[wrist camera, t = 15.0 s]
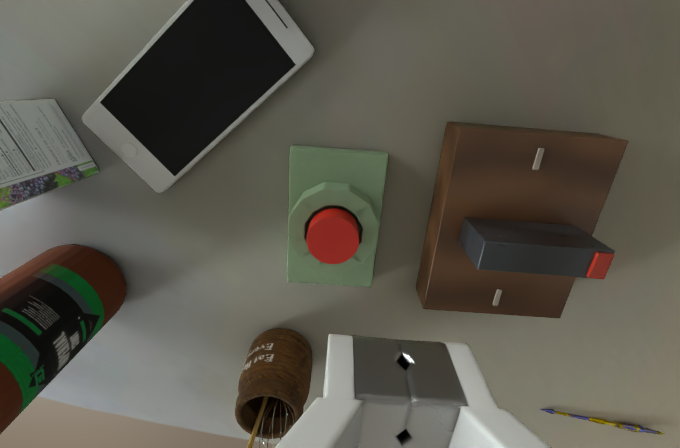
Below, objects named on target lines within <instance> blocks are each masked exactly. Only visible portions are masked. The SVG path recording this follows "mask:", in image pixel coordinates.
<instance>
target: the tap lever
mask: <svg viewBox="0 0 680 448" xmlns="http://www.w3.org/2000/svg"><path fill="white" fill-rule="evenodd" d="M458 242H459V244H460V245H461V247H462V248H463V250H464V251H465V252H466V254H467V255H468V257H469V258H470V260H471V261H472V262H473V264H474V265H475V267H476V268H477V269H478V270H488V271H502V272H515V273H529V274H543V275H556V276H570V277H584V278H595V279H604V278H605V276H606V273H607V271H608V269H609V266H610V264H611V262H612V259H613V257H614V253H615V251H614V250H612V249H611V248H609V247H608V246H606V245H605V244H603V243H601V242H600V241H598V240H597V239H595V238H594V237H592V236H591V235H589V234H587V233H586V232H584V231H583V230H581V229H580V228H578V227H576V226H573V225H560V224H547V223H534V222H521V221H508V220H496V219H483V218H470V217H464V219H463V224H462V228H461V232H460V237H459V241H458Z"/></svg>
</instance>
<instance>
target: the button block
mask: <svg viewBox="0 0 680 448" xmlns="http://www.w3.org/2000/svg"><path fill="white" fill-rule="evenodd" d="M387 164H388V154H387V153H386V152H377V151H365V150H352V149H339V148H327V147H314V146H301V145H292V146H291V147H290V161H289V205H288V249H287V281H288V282H301V283H316V284H330V285H345V286H359V287H371V286H372V278H373V271H374V263H375V255H376V248H377V242H378V234H379V225H380V217H381V209H382V202H383V194H384V187H385V179H386V171H387ZM328 208H339V209H342V210H345V211H346V212H348V213H349V214H351V215H352V216H353V218H354V219H355V221H356V223H357V226H358V233H359V246H358V249H357V251H356V253H355V254H354V255H353V256H352V257H351V258H350V259H349V260H347V261H345V262H343V263H339V264H327V263H324V262H321V261H319V260H318V259H316V258H315V257H314V256H313V255H312V254H311V253H310V251H309V249H308V246H307V233H308V229H309V225H310V222H311V220H312V218H313V217H314V216H315V215H316V214H317V213H318V212H320V211H322V210H324V209H328Z"/></svg>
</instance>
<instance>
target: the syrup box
mask: <svg viewBox="0 0 680 448" xmlns="http://www.w3.org/2000/svg"><path fill="white" fill-rule="evenodd" d="M98 172H99V171H98V168H97V166H96V165H95V163H94V161H93V160H92V158H91V156H90V155H89V153H88V152H87V150H86V148H85V147H84V145H83V143H82V142H81V140H80V139H79V137H78V135H77V134H76V132H75V131H74V129H73V127H72V126H71V124H70V123H69V121H68V120H67V118H66V117H65V115H64V113H63V112H62V110H61V109H60V107H59V106H58V104H57V102H56V101H55V99H53V98H51V99H32V100H13V101H0V210H3V209H6V208H8V207H11V206H14V205H16V204H19V203H21V202H24V201H26V200H29V199H32V198H34V197H37V196H40V195H42V194H45V193H47V192H50V191H53V190H55V189H58V188H61V187H63V186H66V185H69V184H71V183H74V182H76V181H79V180H81V179H84V178H86V177H89V176H91V175H94V174H97V173H98Z"/></svg>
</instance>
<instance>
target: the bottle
mask: <svg viewBox="0 0 680 448" xmlns="http://www.w3.org/2000/svg"><path fill="white" fill-rule="evenodd" d="M125 296H126V282H125V280H124V277H123V275H122V273H121V271H120V269H119V268H118V266H117V265H116V264H115V263H114V262H113V261H112V260H111V259H110V258H109V257H107V256H106V255H104V254H103V253H101V252H99V251H97V250H95V249H92V248H90V247H86V246H81V245H76V244H72V245H64V246H58V247H55V248H52V249H49V250H47V251H46V252H44V253H42V254H40V255H39V256H37V257H35V258H34V259H32V260H30V261H29V262H27V263H25V264H24V265H22V266H20V267H18V268H17V269H15V270H13V271H12V272H10V273H8V274H7V275H5V276H3V277H2V278H0V434H1V433H2V432H3V431H4V430H5V429H6V428H7V427H8V426H9V425H10V424H11V422H12V421H13V420H14V419H15V418H16V417H17V416H18V415H19V414H20V413H21V412H22V411H23V410H24V409H25V408H26V407H27V406H28V405H29V403H31V402H32V400H33V399H34V398H35V397H36V396H37V395H38V394H39V393H40V392H41V391H42V390H43V389H44V388H45V387H46V386H47V385H48V384H49V383H50V382H51V381H52V380H53V378H54V377H55V376H56V375H57V374H58V373H59V372H60V371H61V370H62V369H63V368H64V367H65V366H66V365H67V364H68V363H69V362H70V361H71V360H72V359H73V358H74V357H75V355H76V354H77V353H78V352H79V351H80V350H81V349H82V348H83V347H84V346H85V345H86V344H87V343H88V342H89V341H90V340H91V339H92V338H93V337H94V336H95V335H96V333H97V332H98V331H99V330H100V329H101V328H102V327H103V326H104V325H105V324H106V323H107V322H108V321H109V320H110V319H111V318H112V317H113V316H114V315H115V314H116V313H117V312H118V310H119V309H120V307H121V306H122V304H123V302H124V299H125Z"/></svg>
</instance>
